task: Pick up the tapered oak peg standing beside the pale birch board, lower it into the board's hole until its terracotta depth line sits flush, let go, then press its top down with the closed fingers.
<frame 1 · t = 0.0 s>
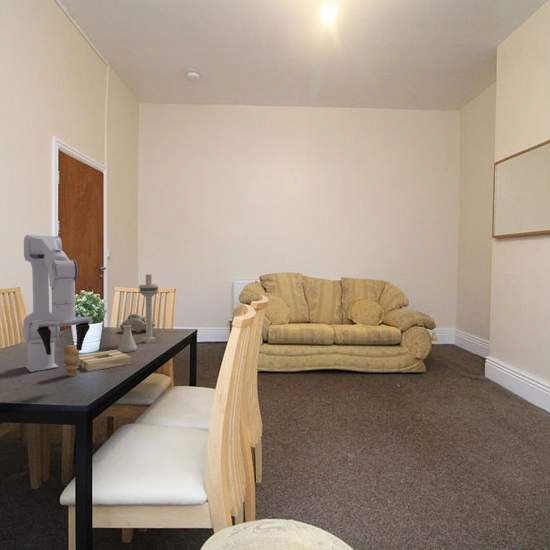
hand: (64, 352, 105), 10 cm above the table, fingers open, 7 cm apart
oak peg: (72, 375, 118), on the table
flask: (127, 351, 151), on the table
model tower: (149, 342, 169), on the table
mineral: (138, 332, 194), on the table
birch board: (103, 363, 132), on the table
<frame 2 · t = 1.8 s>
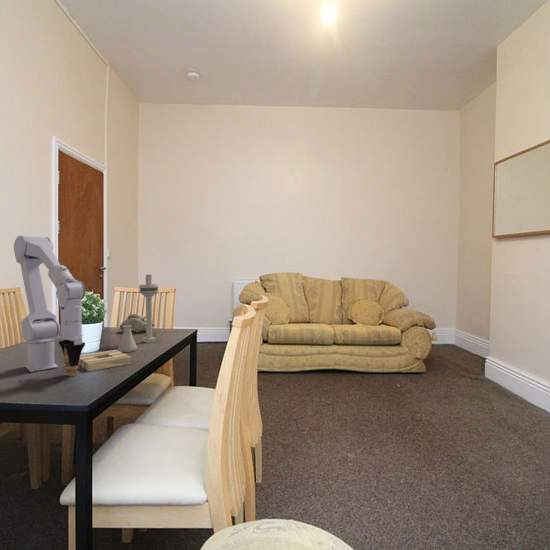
hand: (71, 364, 118), 3 cm above the table, fingers closed on oak peg, 4 cm apart
oak peg: (72, 375, 118), on the table, touching gripper
everything else where it was.
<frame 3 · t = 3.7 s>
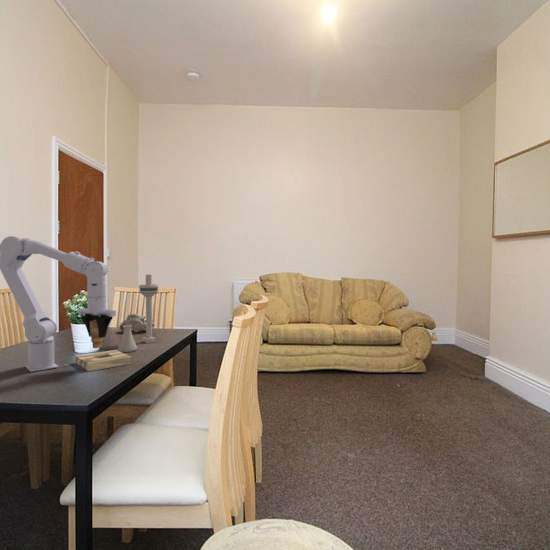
hand: (97, 336, 129), 10 cm above the table, fingers closed on oak peg, 4 cm apart
oak peg: (97, 347, 128), point 6 cm above the table, touching gripper
everything else where it was.
when the fingers open (4 cm above the table, at t = 5.8 s): oak peg stays where it is, resting in birch board.
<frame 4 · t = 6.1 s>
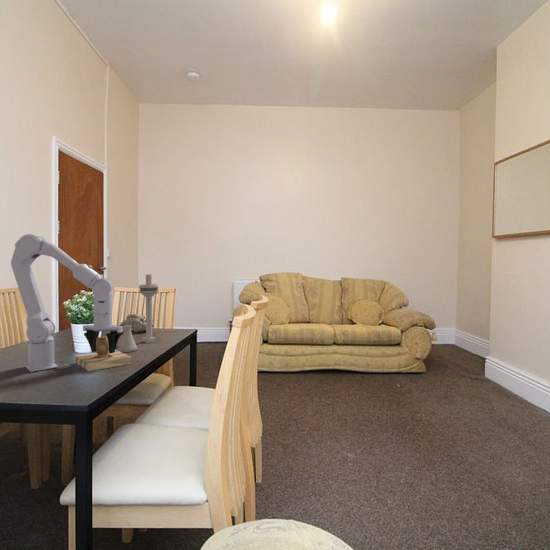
hand: (103, 352, 132), 4 cm above the table, fingers open, 6 cm apart
oak peg: (102, 363, 132), resting in birch board
everything else where it was.
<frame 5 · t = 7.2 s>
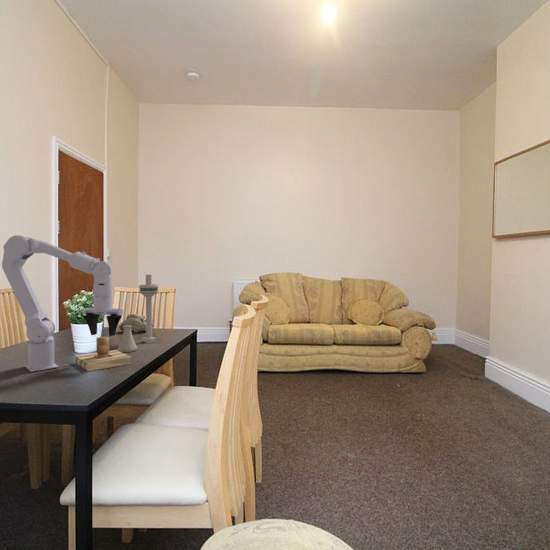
hand: (103, 335, 131), 10 cm above the table, fingers open, 7 cm apart
nothing on the table moved.
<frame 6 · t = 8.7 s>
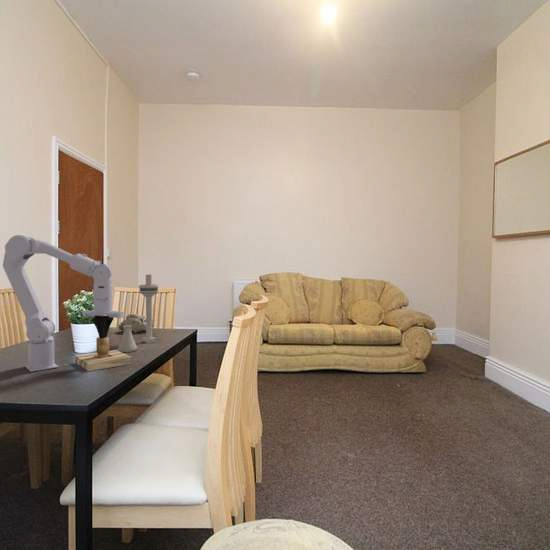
hand: (103, 337, 131), 9 cm above the table, fingers closed, pressing on oak peg
oak peg: (102, 363, 132), resting in birch board, touching gripper
everything else where it was.
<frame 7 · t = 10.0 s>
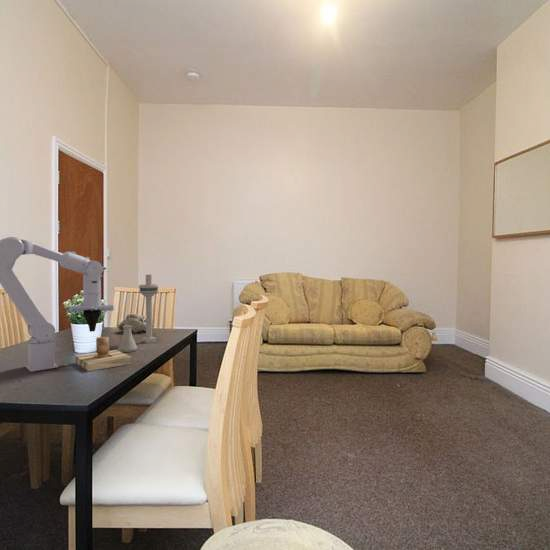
hand: (92, 331, 137), 10 cm above the table, fingers closed
oak peg: (102, 363, 132), resting in birch board
everything else where it was.
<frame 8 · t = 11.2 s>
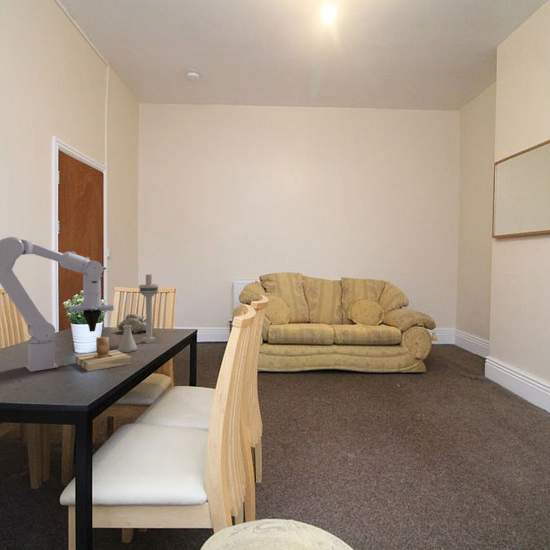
hand: (92, 331, 137), 10 cm above the table, fingers closed
at the end: oak peg 0.1 cm off-centre on the birch board, point 0.0 cm above the birch board's base; oak peg tilted 0°; the gripper is holding nothing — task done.
